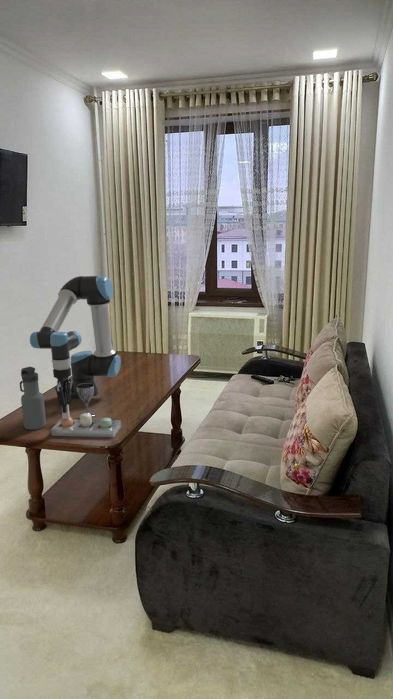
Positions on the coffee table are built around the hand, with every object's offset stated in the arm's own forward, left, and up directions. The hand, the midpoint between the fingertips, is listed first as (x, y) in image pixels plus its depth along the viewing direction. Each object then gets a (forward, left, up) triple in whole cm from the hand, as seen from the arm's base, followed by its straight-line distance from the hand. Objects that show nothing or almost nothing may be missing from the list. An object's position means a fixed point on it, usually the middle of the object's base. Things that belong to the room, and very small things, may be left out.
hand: (66, 418), depth 226 cm
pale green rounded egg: (0, +18, -5) cm, 19 cm away
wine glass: (-19, +3, -6) cm, 20 cm away
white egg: (0, +9, -3) cm, 10 cm away
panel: (0, +9, -6) cm, 11 cm away
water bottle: (-4, -17, -6) cm, 18 cm away
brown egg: (0, 0, -5) cm, 5 cm away
